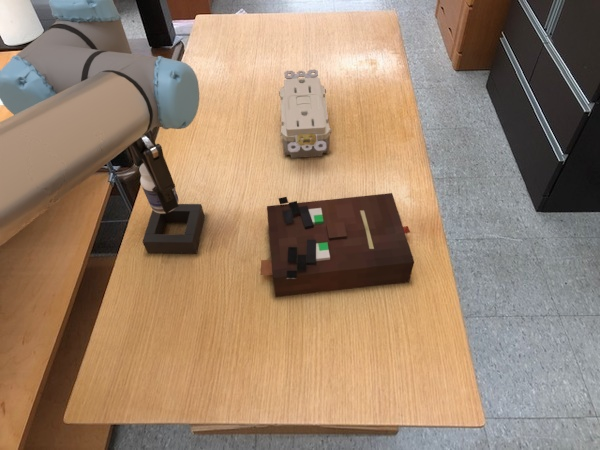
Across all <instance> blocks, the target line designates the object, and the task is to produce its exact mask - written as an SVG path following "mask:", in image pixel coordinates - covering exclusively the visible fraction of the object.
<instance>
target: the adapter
mask: <svg viewBox="0 0 600 450" xmlns="http://www.w3.org/2000/svg"><path fill="white" fill-rule="evenodd" d="M205 217H206V215H205V212H204V209H203V205H202V203H178V207H176V208H175V209H174V210H172V211H170V212H168V213H157V212H155V211H153V210H152V211H151V214H150V216H149V219H148V222H147V226H146V229H145V231H144V234H143V237H142V241H141V242H142V245H143V246H144V249H145V250H146V252H147V254H159V255H160V254H163V255H165V254H168V255H170V254H171V255H176V254H177V255H197V253H198V249H199V245H200V240H201V236H202V231H203V227H204V223H205ZM167 224H186V226H185V230H184V234H183V233H173V234H172V233H165V230H166V227H167Z"/></svg>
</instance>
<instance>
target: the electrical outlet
mask: <svg viewBox="0 0 600 450" xmlns="http://www.w3.org/2000/svg"><path fill="white" fill-rule="evenodd" d="M306 72H307V73H306ZM283 85H284V86H282V87H280V88H279V91H278V95H279V97H280V119H281V120H280V121H281V130H280V131H279V135H280V137H281V138H282V149H283V151H282V152H283V155H284V156H285V157H286V156H288V155H289V156H290V158H291V159H297V158H315V157H322V156H323V154H324V153H326V154H329V153H330V135H331V134H332V128H331V127H330V123H329V114H328V107H327V98H326V94H327V88H326V87H325V85H323V84H321V78H320V77H319V71H318V69H315V68H314V69H309V70H307V71H304V70H298V71H297V72H295V71H294V70H286V71H284V79H283Z"/></svg>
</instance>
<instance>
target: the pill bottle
mask: <svg viewBox="0 0 600 450" xmlns="http://www.w3.org/2000/svg"><path fill="white" fill-rule="evenodd" d="M138 169H139V171H140V173H141V175H140V180H139V183H140V185H141V189H142V190H143V192H144V195H145V197H146V199H147V202H148V204H149V206H150V209H152V210H153V211H155V212H157V213H165V212H164V210H163V208H162V205H161V203H160V201H159V198H158V196H157V194H156V193H154V192H153V190H152V189H153V188H154V187H155V185H154V183H153V181H152V179H151V177H150V175H149V173H148V171H147V169H146V167H145V165H144V163H143V164H142V165H141V166H140V168H139V167H138ZM139 171H138V172H139ZM140 173H139V174H140ZM172 190H173V193H174V196H175V198H176V201H177V203H178V204H179V202H180V200H179V196H178V192H177V191H176V187H175V188H173V189H172ZM173 210H174V209H173ZM171 211H172V210H171ZM169 212H170V211H169Z"/></svg>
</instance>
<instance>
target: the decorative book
mask: <svg viewBox="0 0 600 450" xmlns="http://www.w3.org/2000/svg"><path fill="white" fill-rule="evenodd" d="M278 202H279V204H273V205H267V206H266V211H267V225H268V238H269V248H270V249H269V250H270V259H260V276H272V283H273V290H274V295H275V298H280V297H281V298H282V297H289V296H299V295H306V294H307V295H308V294H316V293H325V292H333V291H334V292H335V291H343V290H350V289H361V288H368V287H369V288H370V287H377V286H378V287H379V286H387V285H396V284H405V283H410V279H411V275H412V272H413V269H414V265H415V260H414V256H413V253H412V250H411V248H410V244H409V241H408V237H407V235H406V234H411V231H410V229H409V226H408V225H406V226H403V222H402V219H401V217H400V213H399V210H398V207H397V203H396V200H395V197H394V195H393V193H392V192H389V193H388V192H387V193H379V194H370V195H360V196H352V197H342V198H332V199H322V200H312V201H302V202H298V201H297V200H295V201H290V202H289V200H288V197H287V196H282V197H278Z"/></svg>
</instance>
